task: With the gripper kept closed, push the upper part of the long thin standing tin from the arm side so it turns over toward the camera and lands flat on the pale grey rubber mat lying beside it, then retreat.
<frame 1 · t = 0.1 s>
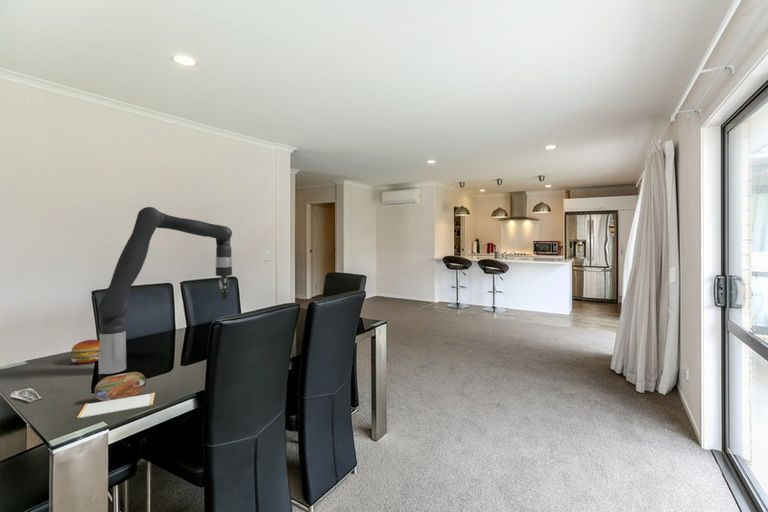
hand: (224, 298, 177), 29 cm above the table, fingers open, 8 cm apart
burger: (88, 361, 169), on the table
mat: (119, 405, 121), on the table
tin: (121, 397, 128), on the table
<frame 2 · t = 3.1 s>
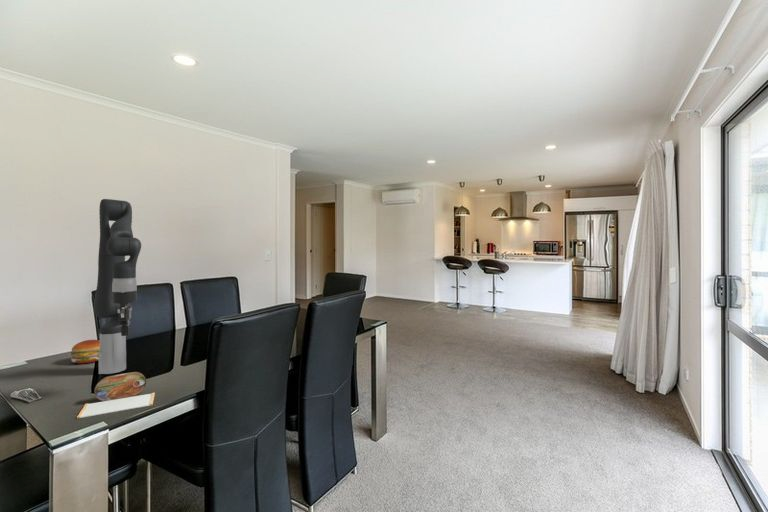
hand: (125, 335, 134), 21 cm above the table, fingers closed
nothing on the table moved.
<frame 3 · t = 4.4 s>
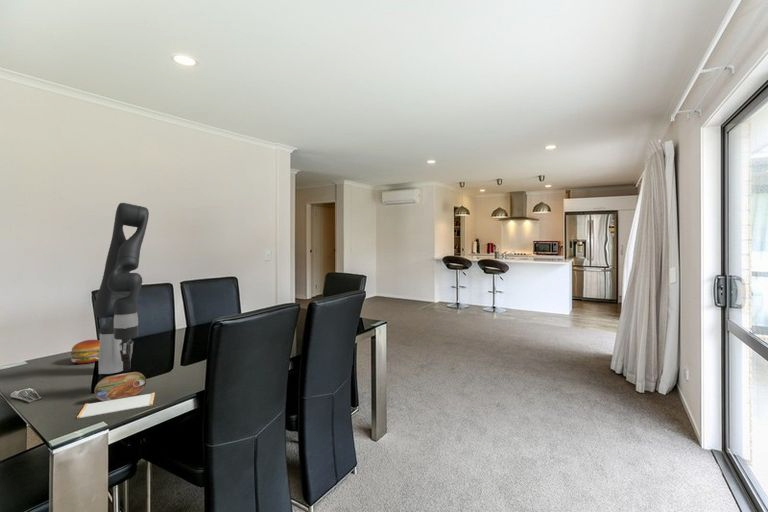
hand: (126, 370, 134), 7 cm above the table, fingers closed
nothing on the table moved.
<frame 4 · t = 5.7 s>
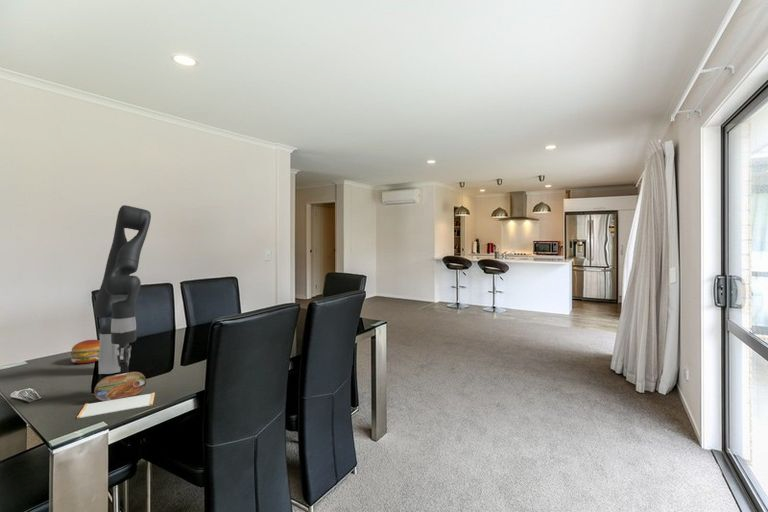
hand: (124, 375, 131), 7 cm above the table, fingers closed
tin: (121, 397, 128), on the table, touching gripper
everything else where it was.
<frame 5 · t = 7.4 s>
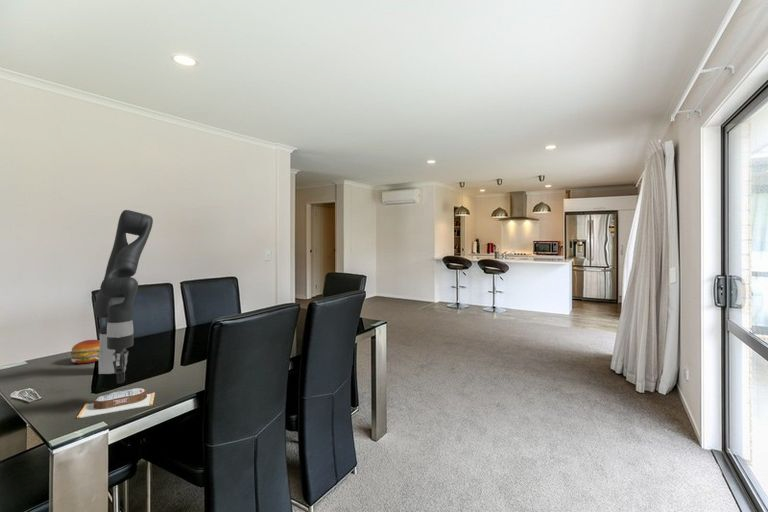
hand: (120, 382, 124), 7 cm above the table, fingers closed
tin: (121, 392, 127), point 2 cm above the table, touching mat
everything else where it was.
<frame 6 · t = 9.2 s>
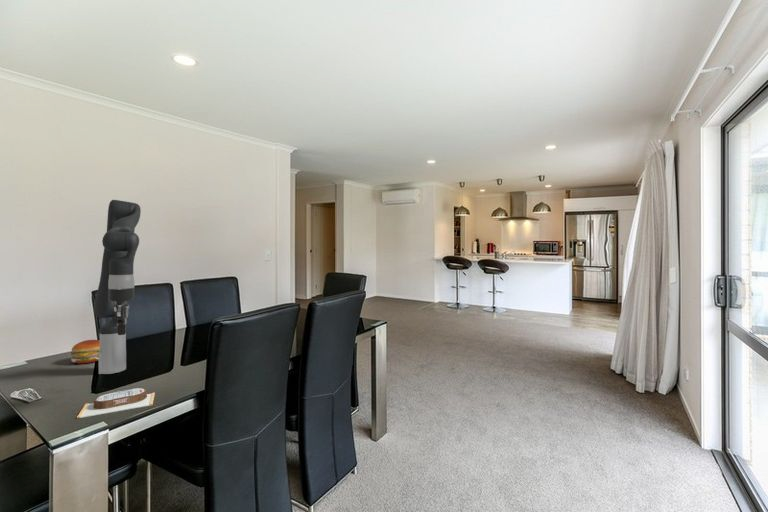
hand: (121, 334, 128), 23 cm above the table, fingers closed
nothing on the table moved.
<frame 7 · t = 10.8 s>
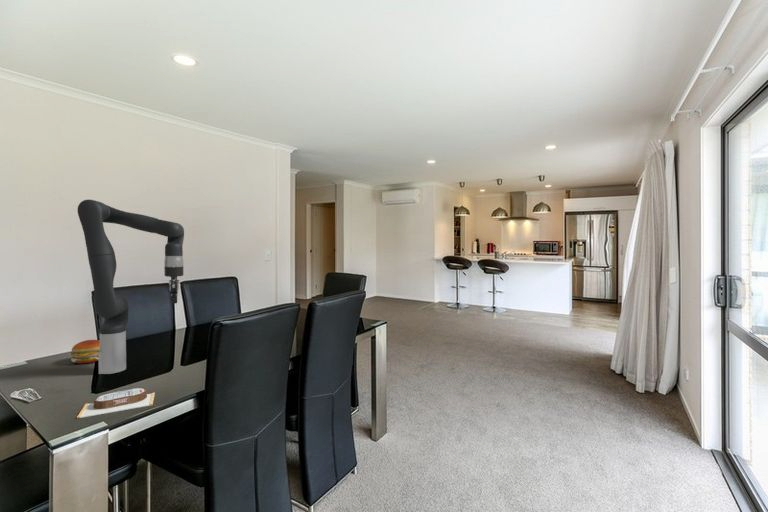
hand: (174, 303, 162), 29 cm above the table, fingers closed
nothing on the table moved.
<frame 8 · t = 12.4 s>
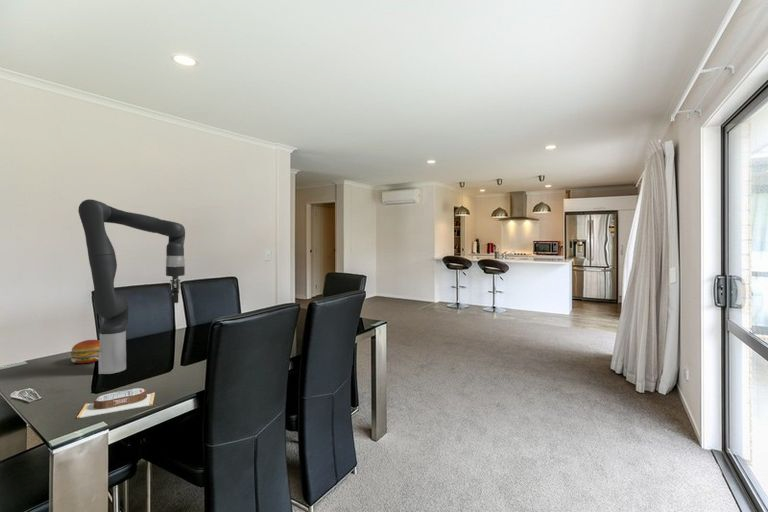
hand: (175, 302, 163), 29 cm above the table, fingers closed
nothing on the table moved.
at the end: tin tilted 94°; tin inside the target area on the mat (5.7 cm from its centre), point 1.9 cm above the mat's base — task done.
